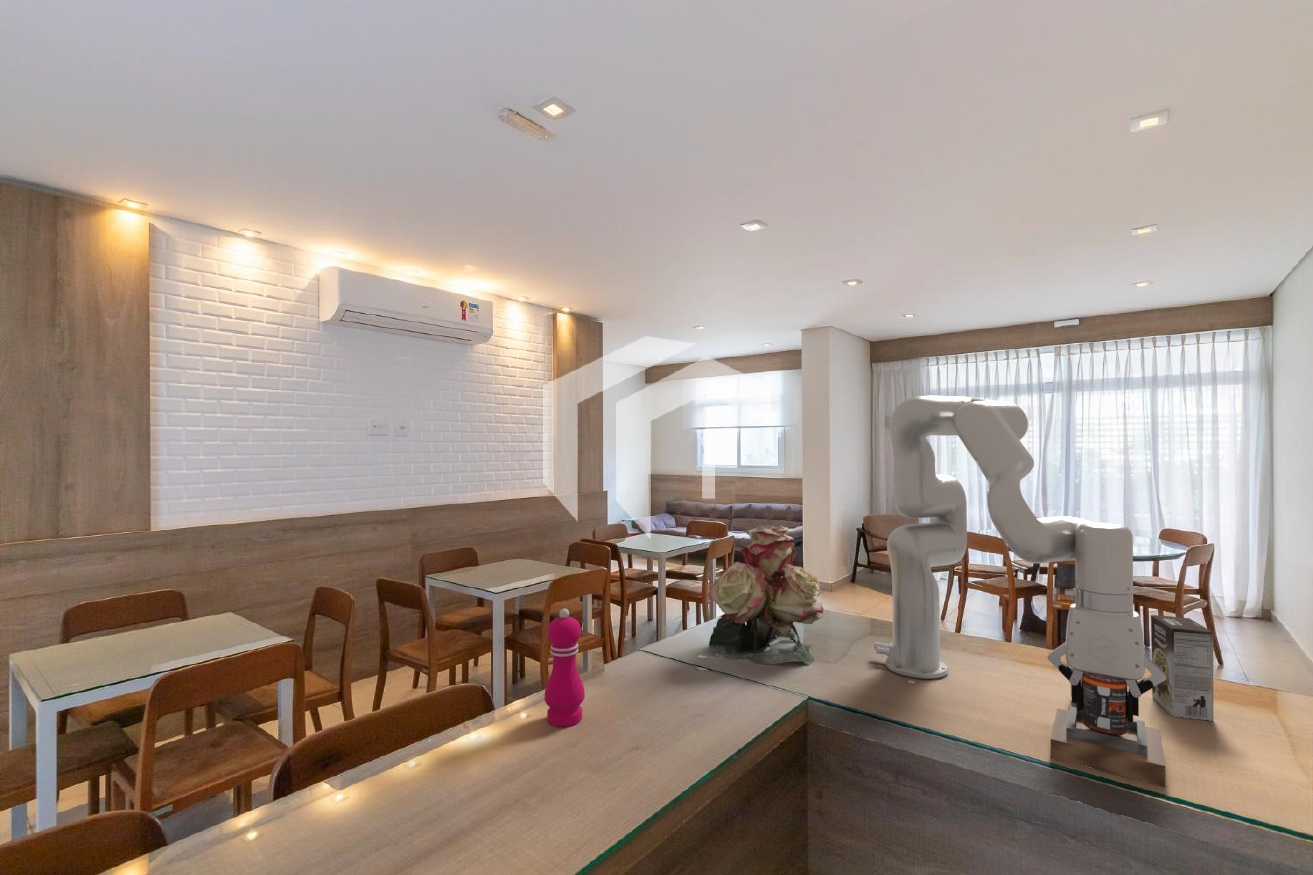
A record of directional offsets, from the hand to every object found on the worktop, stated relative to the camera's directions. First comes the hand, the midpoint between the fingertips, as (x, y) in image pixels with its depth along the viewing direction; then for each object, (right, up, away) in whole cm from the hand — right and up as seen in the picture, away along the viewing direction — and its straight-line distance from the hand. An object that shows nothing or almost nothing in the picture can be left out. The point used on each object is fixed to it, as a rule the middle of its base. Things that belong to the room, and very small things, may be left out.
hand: (1104, 712), depth 99 cm
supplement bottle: (0, -3, 0) cm, 3 cm away
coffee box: (+26, -7, +16) cm, 31 cm away
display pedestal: (0, -6, 0) cm, 6 cm away
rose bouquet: (-44, -7, +51) cm, 68 cm away
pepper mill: (-88, -7, +13) cm, 90 cm away
